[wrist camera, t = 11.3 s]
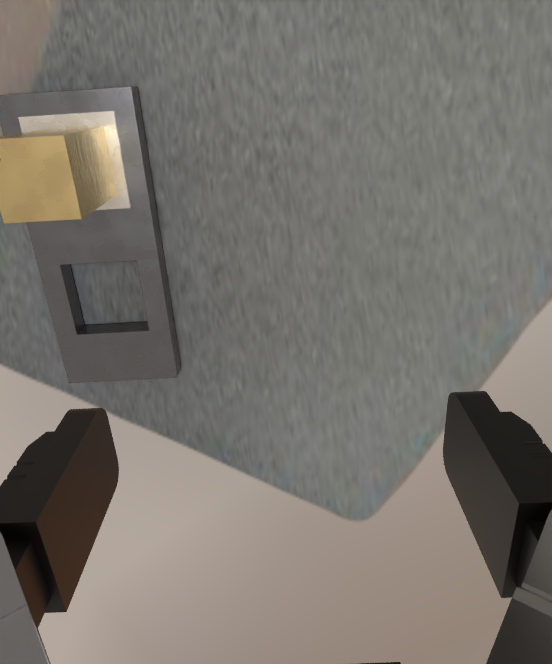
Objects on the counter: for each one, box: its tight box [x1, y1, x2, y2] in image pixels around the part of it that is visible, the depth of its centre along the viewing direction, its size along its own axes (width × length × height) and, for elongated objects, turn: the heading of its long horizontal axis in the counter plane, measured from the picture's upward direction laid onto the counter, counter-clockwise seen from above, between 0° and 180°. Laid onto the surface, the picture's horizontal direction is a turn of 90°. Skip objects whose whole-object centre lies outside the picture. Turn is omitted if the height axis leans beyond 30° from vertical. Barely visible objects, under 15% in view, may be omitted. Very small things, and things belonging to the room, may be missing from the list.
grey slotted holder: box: [0, 87, 181, 383], centre depth 43 cm, size 24×10×2 cm, turn 3°
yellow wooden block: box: [0, 126, 116, 223], centre depth 36 cm, size 5×5×8 cm
